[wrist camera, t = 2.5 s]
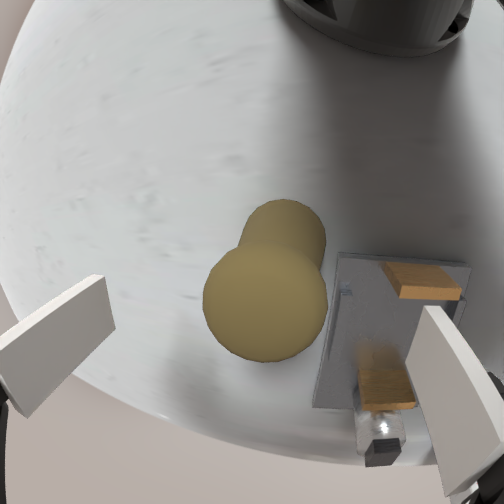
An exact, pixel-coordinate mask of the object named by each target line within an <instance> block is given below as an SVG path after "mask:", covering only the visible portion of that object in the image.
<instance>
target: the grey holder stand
mask: <svg viewBox="0 0 504 504" xmlns="http://www.w3.org/2000/svg"><path fill="white" fill-rule="evenodd" d="M471 269H472V268H471V267H470V266H468V265H467V264H466V263H462V262H450V261H439V260H427V259H415V258H403V257H391V256H379V255H366V254H354V253H342V252H339V254H338V262H337V270H336V278H335V285H334V292H333V299H332V305H331V311H330V317H329V323H328V329H327V334H326V340H325V345H324V350H323V355H322V360H321V365H320V370H319V375H318V379H317V384H316V388H315V393H314V397H313V408H333V409H354V418H355V430H356V444H357V453H358V454H359V455H360V456H362V457H365V466H366V467H375V466H388V465H392V463H393V462H394V461H395V460H396V458H397V457H398V456H399V454H400V453H401V452H402V451H401V447H402V446H403V445H404V443H405V441H406V437H405V432H404V428H403V423H402V419H401V414H400V409H413V407H417V406H418V404H419V400H418V397H417V394H416V391H415V388H414V385H413V383H412V380H411V377H410V374H409V372H408V369H407V366H406V364H405V361H406V358H407V356H408V353H409V350H410V347H411V345H412V342H413V339H414V336H415V333H416V330H417V327H418V324H419V320H420V317H421V314H422V310H423V307H424V306H440V307H441V308H442V309H443V311H444V312H445V313H446V314H447V316H448V317H449V318H450V320H451V321H452V323H453V324H454V325H455V327H456V328H458V325H459V322H460V320H461V317H462V314H463V311H464V308H465V305H466V302H467V301H466V300H465V298H464V295H465V291H466V288H467V284H468V281H469V277H470V273H471Z"/></svg>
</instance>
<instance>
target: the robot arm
mask: <svg viewBox="0 0 504 504" xmlns="http://www.w3.org/2000/svg"><path fill="white" fill-rule="evenodd" d="M283 1H284V2H285V3H286V5H287V6H288V7H289V8H290V9H291V10H292V11H293V12H294V13H295V14H296V15H297V16H299V17H300V18H301V19H302V20H304V21H305V22H306V23H308V24H309V25H310V26H312V27H313V28H315V29H317V30H318V31H320V32H322V33H324V34H325V35H327V36H329V37H331V38H333V39H335V40H337V41H340V42H342V43H344V44H347V45H349V46H352V47H355V48H358V49H361V50H364V51H368V52H372V53H376V54H381V55H387V56H395V57H417V56H424V55H428V54H431V53H434V52H437V51H439V50H441V49H442V48H444V47H445V46H447V45H448V44H449V43H450V42H452V41H453V40H454V39H456V38H457V37H458V36H459V35H460V34H461V33H462V31H463V30H464V29H465V27H466V25H467V23H468V20H469V17H470V14H471V10H472V7H473V3H474V0H283ZM497 2H498V3H499V4H500V6H501V7H502V8H503V9H504V0H497ZM115 329H116V328H115V324H114V320H113V315H112V311H111V306H110V302H109V297H108V291H107V286H106V281H105V276H101V275H95V274H92V275H90V276H88V277H87V278H85V279H84V280H82V281H81V282H79V283H77V284H76V285H74V286H73V287H71V288H70V289H68V290H66V291H65V292H63V293H62V294H60V295H59V296H57V297H56V298H54V299H53V300H51V301H50V302H48V303H47V304H45V305H44V306H42V307H41V308H39V309H38V310H36V311H35V312H33V313H32V314H30V315H29V316H28V317H26V318H25V319H23V320H22V321H20V322H19V323H18V324H17V325H15V326H14V327H12V328H11V329H9V330H8V331H6V332H5V333H4V334H3V335H1V336H0V504H6V491H5V444H6V429H7V419H8V405H7V403H6V401H7V400H8V399H10V401H11V403H12V404H13V406H14V408H15V409H16V410H17V411H18V412H19V413H21V414H22V415H23V416H25V417H26V418H27V419H28V418H29V417H30V416H31V414H32V413H33V412H34V411H35V410H36V409H37V408H38V407H39V406H40V405H41V404H42V403H43V402H44V401H45V400H46V398H47V397H48V396H49V395H50V394H51V393H52V392H53V391H54V390H55V389H56V388H57V387H58V386H59V385H60V384H61V383H62V382H63V381H64V380H65V379H66V378H67V377H68V375H70V374H71V373H72V372H73V371H74V370H75V369H76V368H77V367H78V366H79V365H80V364H81V363H82V362H83V361H84V360H85V359H86V358H87V357H88V356H89V355H90V354H91V353H92V352H93V351H94V350H95V349H96V348H97V347H98V346H99V345H100V344H101V343H102V342H103V341H104V340H105V339H106V338H107V337H108V336H109V335H110V334H111V333H112V332H113V331H114V330H115ZM405 364H406V366H407V369H408V372H409V374H410V377H411V380H412V383H413V385H414V388H415V391H416V394H417V397H418V400H419V403H420V406H421V409H422V412H423V415H424V418H425V421H426V424H427V428H428V431H429V434H430V438H431V441H432V445H433V448H434V452H435V456H436V460H437V464H438V468H439V472H440V476H441V480H442V485H443V489H444V495H445V497H448V496H452V495H455V494H458V493H461V492H464V491H466V490H467V489H468V488H470V487H471V486H472V485H473V484H474V483H475V482H476V481H477V483H478V487H479V488H478V489H476V490H475V491H474V492H473V493H472V494H471V495H469V496H468V497H467V498H466V499H464V500H463V501H462V502H461V504H466V503H467V502H468V501H470V502H469V504H504V386H503V384H502V382H501V381H500V380H499V379H498V378H497V377H496V376H494V375H493V374H492V373H491V372H488V373H487V372H486V371H485V369H484V367H483V366H482V364H481V363H480V361H479V360H478V358H477V357H476V355H475V354H474V352H473V351H472V349H471V348H470V346H469V345H468V343H467V342H466V341H465V339H464V338H463V336H462V335H461V334H460V332H459V331H458V329H457V328H456V327H455V325H454V324H453V323H452V321H451V320H450V318H449V317H448V316H447V314H446V313H445V312H444V311H443V309H442V308H441V307H440V306H424V307H423V310H422V314H421V317H420V320H419V324H418V327H417V330H416V333H415V336H414V339H413V342H412V345H411V347H410V350H409V353H408V356H407V358H406V361H405Z"/></svg>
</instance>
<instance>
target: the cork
mask: <svg viewBox="0 0 504 504" xmlns="http://www.w3.org/2000/svg"><path fill="white" fill-rule="evenodd" d="M325 245H326V237H325V230H324V227H323V225H322V223H321V221H320V219H319V217H318V216H317V215H316V214H315V213H314V212H313V211H312V210H311V209H310V208H309V207H307V206H305V205H303V204H301V203H299V202H297V201H292V200H286V199H280V200H274V201H269V202H267V203H265V204H264V205H262V206H260V207H258V208H257V209H256V210H255V211H254V212H253V213H252V214H251V215H250V216H249V218H248V220H247V222H246V225H245V227H244V229H243V232H242V235H241V238H240V241H239V244H238V247H237V248H235V249H233V250H231V251H229V252H227V253H226V254H225V256H224V257H223V258H222V259H221V260H220V261H219V262H218V263H217V264H216V265H215V266H214V267H213V268H212V269H211V271H210V274H209V276H208V279H207V281H206V283H205V286H204V291H203V312H204V315H205V318H206V321H207V325H208V327H209V329H210V331H211V332H212V333H213V335H214V336H215V338H216V339H217V341H218V342H219V343H220V344H221V345H223V346H224V347H225V348H226V349H227V350H229V351H230V352H231V353H233V354H235V355H237V356H240V357H242V358H244V359H246V360H251V361H256V362H261V363H264V362H279V361H282V360H285V359H288V358H291V357H293V356H295V355H297V354H298V353H300V352H301V351H303V350H304V349H306V348H307V347H308V346H310V345H311V344H312V343H313V341H314V340H315V339H316V337H317V336H318V334H319V333H320V332H321V330H322V327H323V325H324V321H325V318H326V314H327V310H328V302H327V292H326V285H325V282H324V280H323V278H322V276H321V274H320V272H319V270H320V267H321V263H322V259H323V255H324V251H325Z"/></svg>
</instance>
